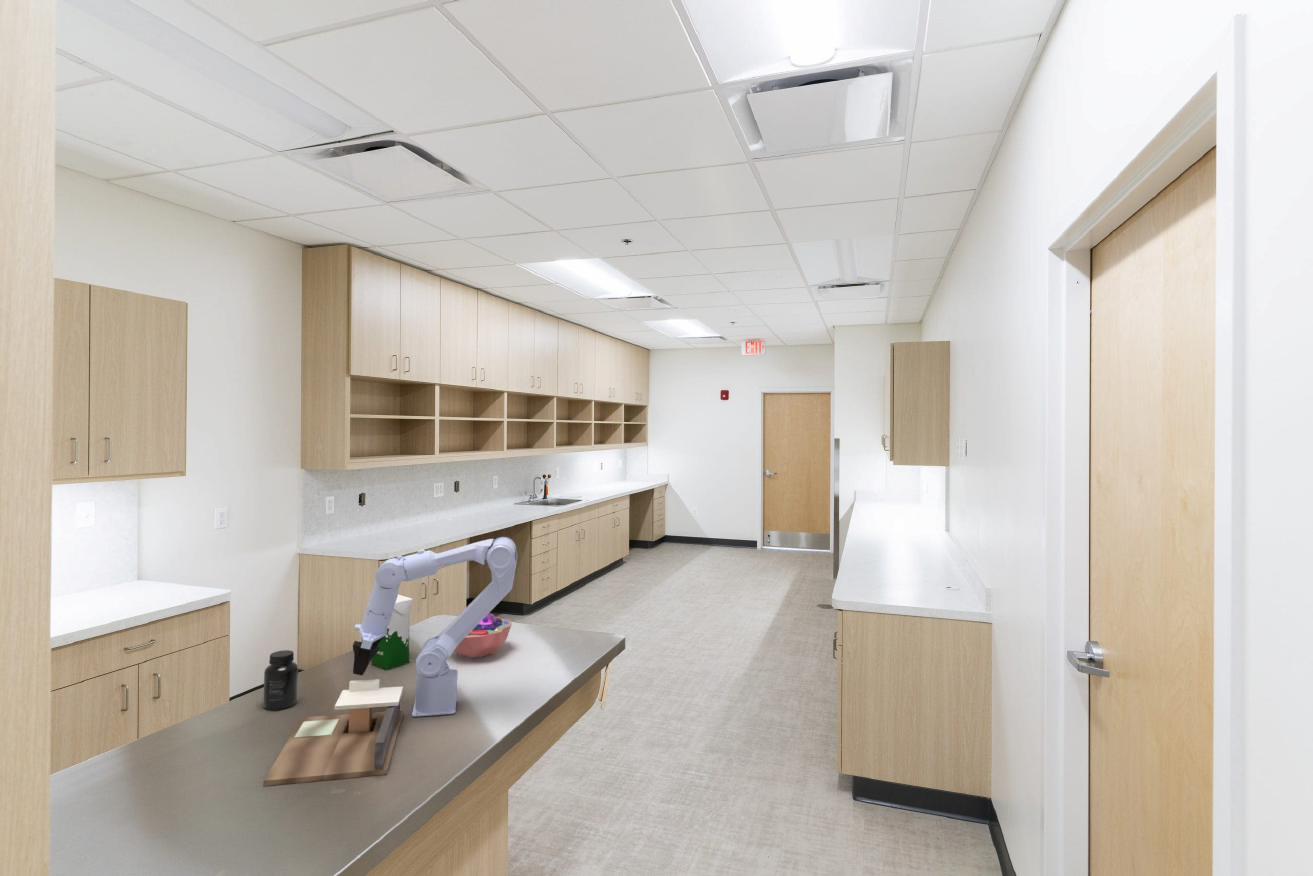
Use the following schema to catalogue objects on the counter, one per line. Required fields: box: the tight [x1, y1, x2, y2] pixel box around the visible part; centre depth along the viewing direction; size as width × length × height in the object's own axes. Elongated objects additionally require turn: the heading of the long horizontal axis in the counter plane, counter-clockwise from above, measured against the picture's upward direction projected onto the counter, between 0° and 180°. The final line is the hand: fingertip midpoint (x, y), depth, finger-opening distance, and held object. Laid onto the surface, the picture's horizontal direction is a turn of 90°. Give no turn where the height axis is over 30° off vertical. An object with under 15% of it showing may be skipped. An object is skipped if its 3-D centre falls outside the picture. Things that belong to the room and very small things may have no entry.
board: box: [262, 701, 404, 787], centre depth 131 cm, size 21×25×6 cm
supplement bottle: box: [263, 649, 299, 711], centre depth 148 cm, size 7×7×12 cm
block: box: [348, 707, 374, 733], centre depth 137 cm, size 4×4×6 cm
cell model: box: [453, 612, 513, 659], centre depth 184 cm, size 17×20×11 cm
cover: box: [333, 678, 404, 711], centre depth 138 cm, size 12×8×3 cm, turn 105°
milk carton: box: [370, 594, 414, 671], centre depth 174 cm, size 9×9×20 cm
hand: (361, 667), depth 146 cm, fingers open, 7 cm apart
